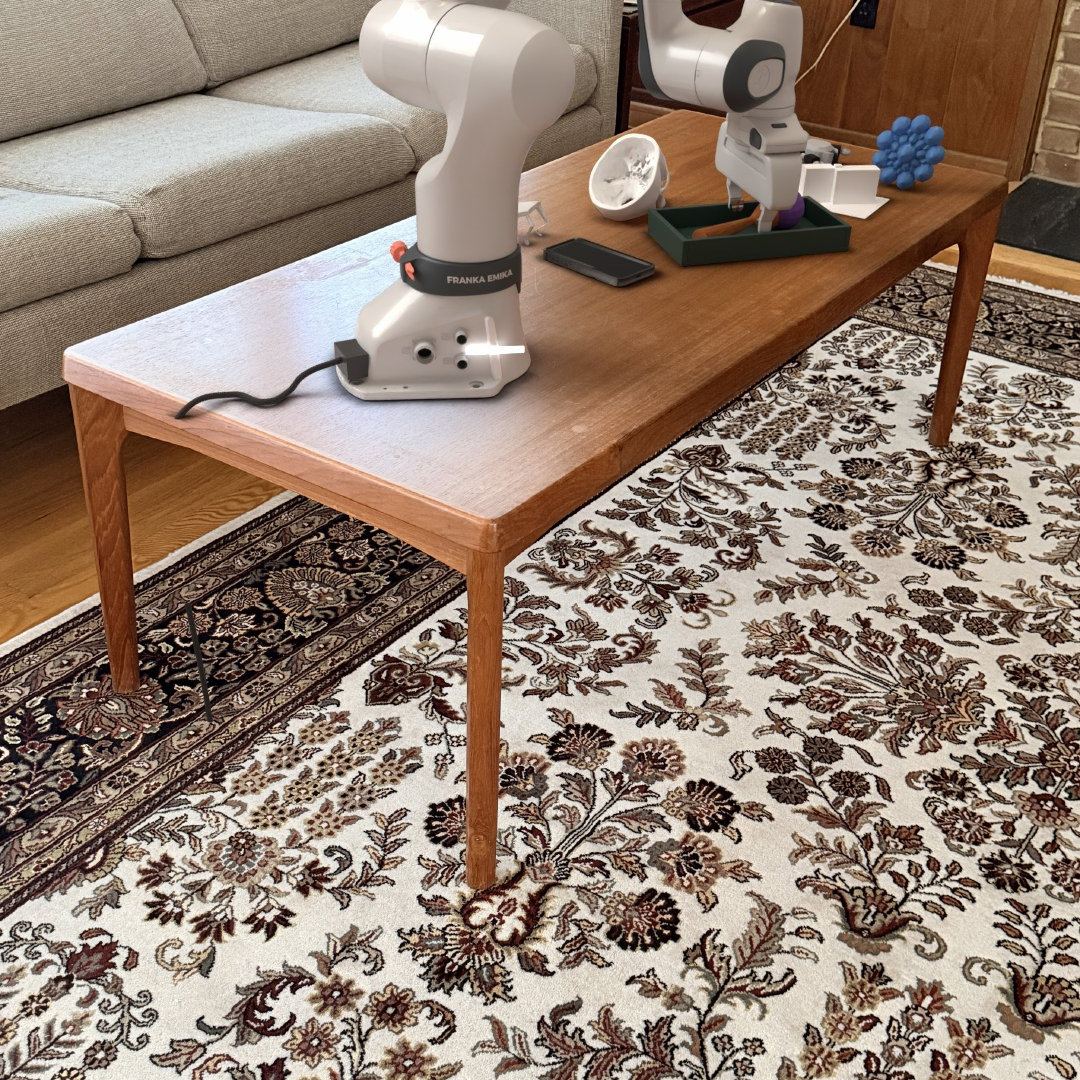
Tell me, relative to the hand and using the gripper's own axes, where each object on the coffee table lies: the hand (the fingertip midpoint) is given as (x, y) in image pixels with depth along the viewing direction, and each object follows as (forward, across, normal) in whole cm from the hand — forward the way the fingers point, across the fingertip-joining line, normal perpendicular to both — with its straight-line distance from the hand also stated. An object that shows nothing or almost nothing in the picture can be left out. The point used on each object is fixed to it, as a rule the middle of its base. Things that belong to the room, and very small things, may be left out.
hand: (748, 220), depth 176 cm
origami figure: (+3, -8, -34) cm, 35 cm away
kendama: (+3, 0, 0) cm, 3 cm away
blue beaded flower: (+3, -17, +35) cm, 39 cm away
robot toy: (+3, -33, +24) cm, 41 cm away
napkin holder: (+3, -14, +21) cm, 26 cm away
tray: (+3, 0, 0) cm, 3 cm away
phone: (+3, +4, -24) cm, 25 cm away
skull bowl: (+3, -16, -12) cm, 20 cm away
